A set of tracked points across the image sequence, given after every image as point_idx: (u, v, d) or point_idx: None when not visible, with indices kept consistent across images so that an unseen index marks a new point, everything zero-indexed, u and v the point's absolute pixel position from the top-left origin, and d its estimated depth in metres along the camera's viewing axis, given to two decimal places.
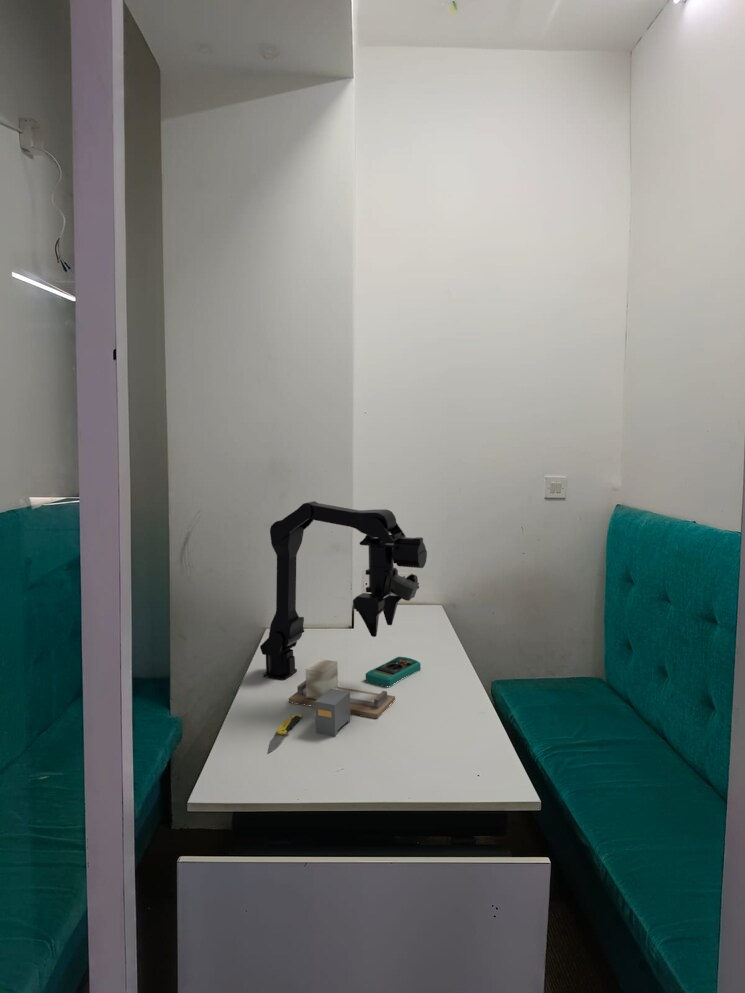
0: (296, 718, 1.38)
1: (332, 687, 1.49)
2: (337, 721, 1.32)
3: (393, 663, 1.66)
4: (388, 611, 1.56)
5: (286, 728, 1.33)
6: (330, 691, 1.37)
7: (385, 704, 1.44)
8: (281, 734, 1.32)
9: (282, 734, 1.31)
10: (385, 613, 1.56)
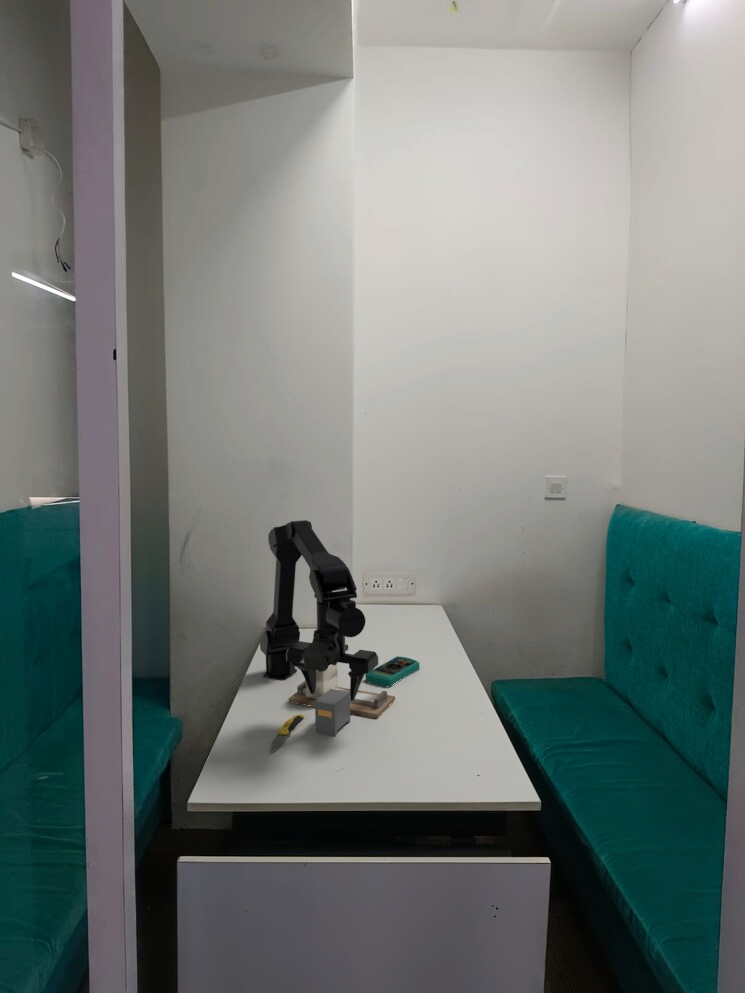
0: (298, 718, 1.38)
1: (332, 687, 1.49)
2: (337, 721, 1.32)
3: (392, 663, 1.66)
4: None
5: (288, 728, 1.33)
6: (330, 691, 1.37)
7: (385, 704, 1.44)
8: (283, 734, 1.31)
9: (284, 734, 1.31)
10: None
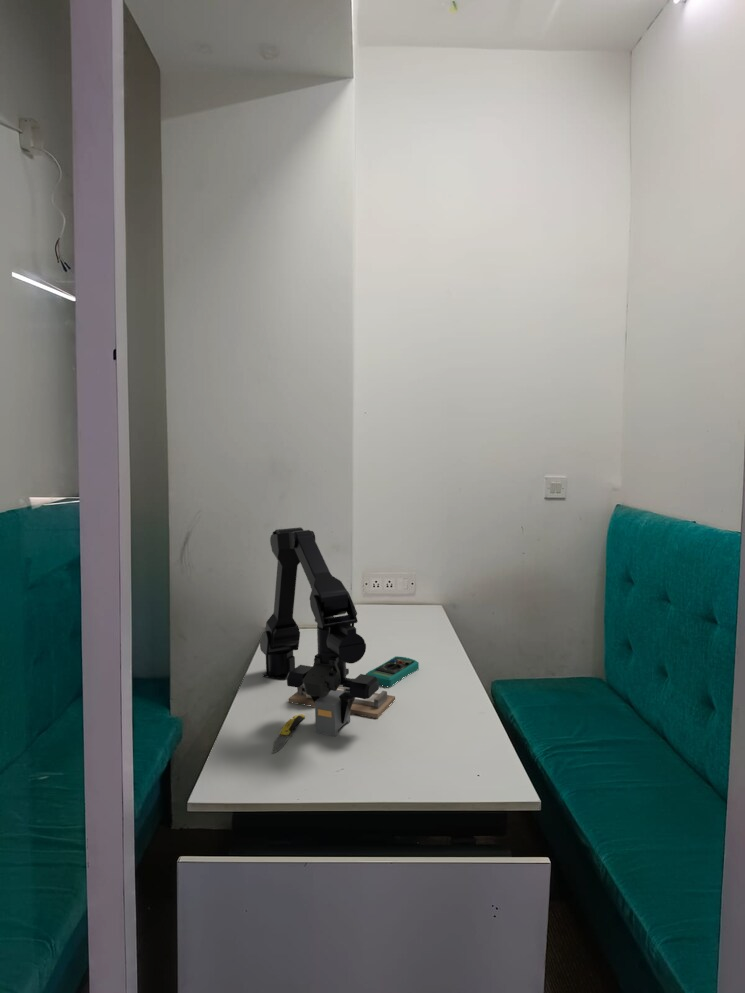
0: (299, 718, 1.38)
1: None
2: (337, 721, 1.32)
3: (391, 663, 1.66)
4: None
5: (289, 728, 1.33)
6: (330, 691, 1.37)
7: (385, 704, 1.44)
8: (285, 734, 1.31)
9: (286, 734, 1.31)
10: None
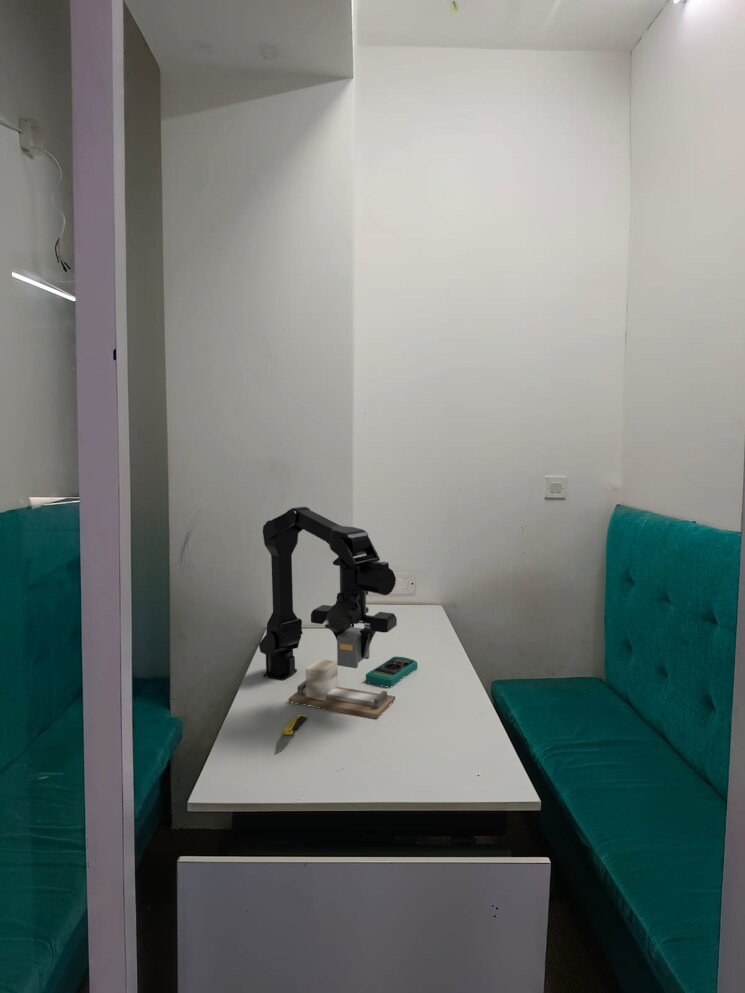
0: (301, 718, 1.38)
1: (332, 687, 1.49)
2: (357, 654, 1.42)
3: (391, 663, 1.66)
4: None
5: (292, 728, 1.33)
6: (351, 629, 1.47)
7: (385, 704, 1.44)
8: (287, 734, 1.31)
9: (288, 734, 1.31)
10: None
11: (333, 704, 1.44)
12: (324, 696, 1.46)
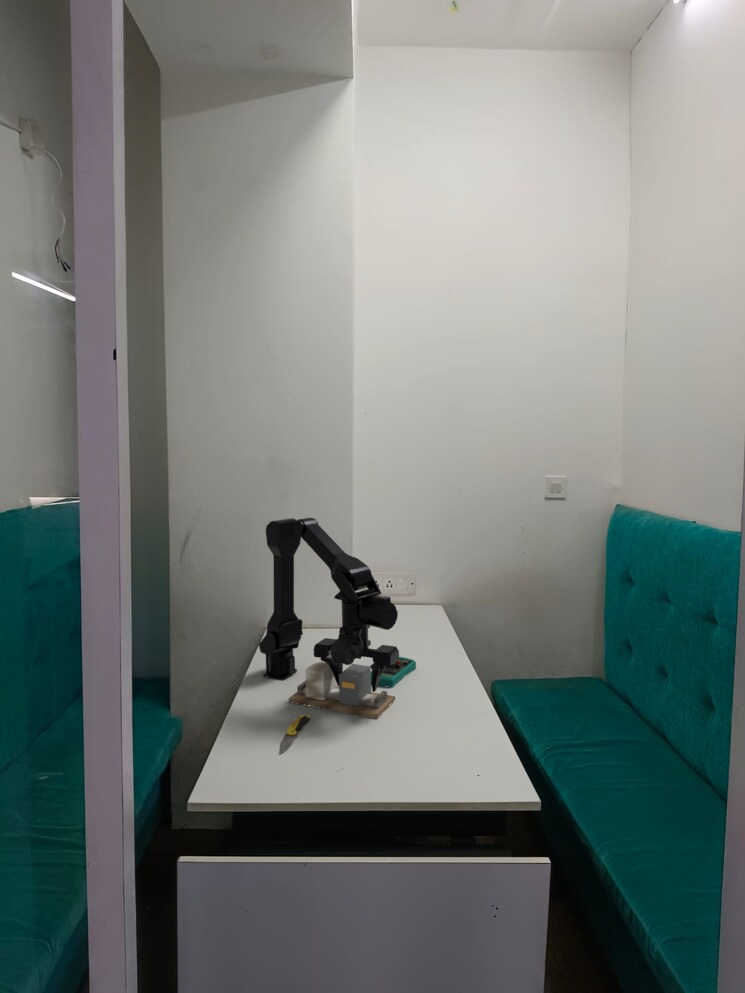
0: (304, 718, 1.38)
1: (332, 687, 1.49)
2: (359, 692, 1.43)
3: None
4: None
5: (295, 729, 1.33)
6: (352, 666, 1.48)
7: (385, 704, 1.44)
8: (291, 735, 1.31)
9: (292, 735, 1.31)
10: None
11: (333, 704, 1.44)
12: (324, 696, 1.46)
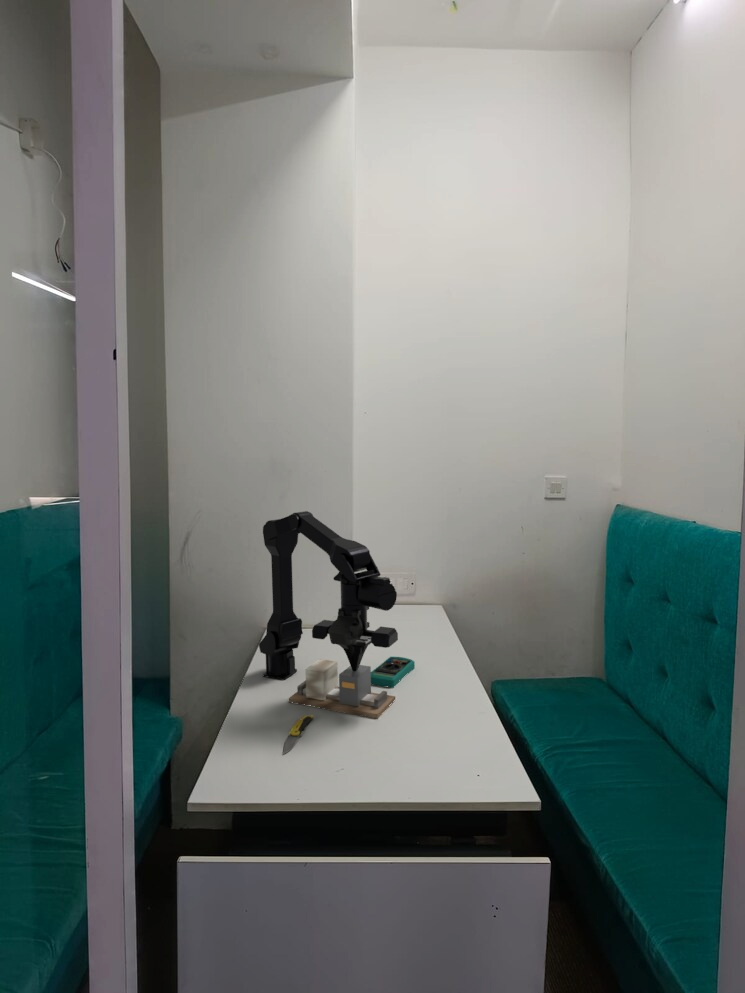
0: (307, 719, 1.38)
1: (332, 687, 1.49)
2: (359, 692, 1.43)
3: (388, 663, 1.65)
4: None
5: (299, 729, 1.33)
6: None
7: (385, 704, 1.44)
8: (294, 735, 1.31)
9: (295, 735, 1.31)
10: None
11: (333, 704, 1.44)
12: (324, 696, 1.46)
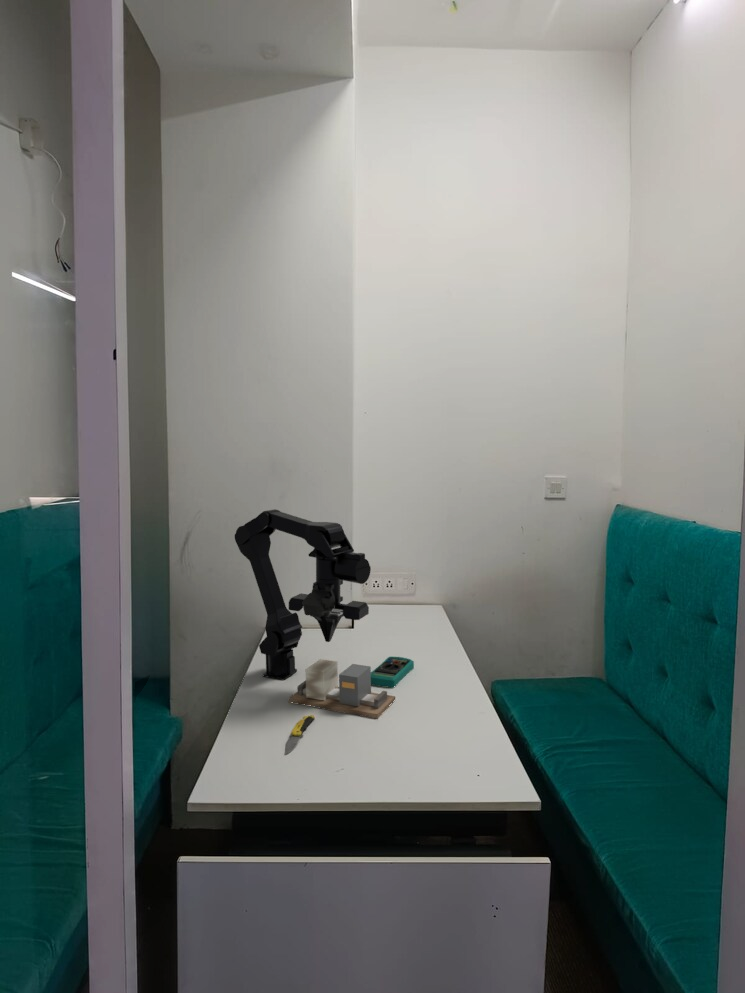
0: (309, 719, 1.37)
1: (332, 687, 1.49)
2: (359, 692, 1.43)
3: (388, 663, 1.65)
4: None
5: (300, 729, 1.33)
6: (352, 666, 1.48)
7: (385, 704, 1.44)
8: (296, 735, 1.31)
9: (297, 735, 1.31)
10: None
11: (333, 704, 1.44)
12: (324, 696, 1.46)
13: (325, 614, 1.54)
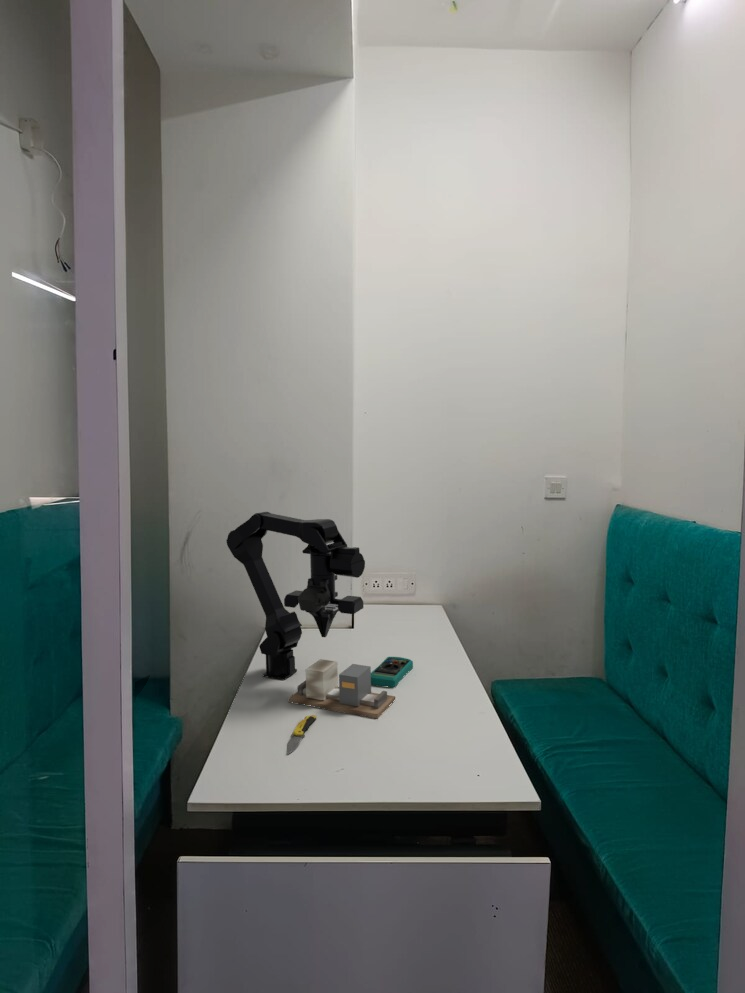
0: (311, 719, 1.37)
1: (332, 687, 1.49)
2: (359, 692, 1.43)
3: (387, 663, 1.65)
4: None
5: (302, 729, 1.33)
6: (352, 666, 1.48)
7: (385, 704, 1.44)
8: (298, 735, 1.31)
9: (299, 735, 1.31)
10: None
11: (333, 704, 1.44)
12: (324, 696, 1.46)
13: (320, 610, 1.56)
